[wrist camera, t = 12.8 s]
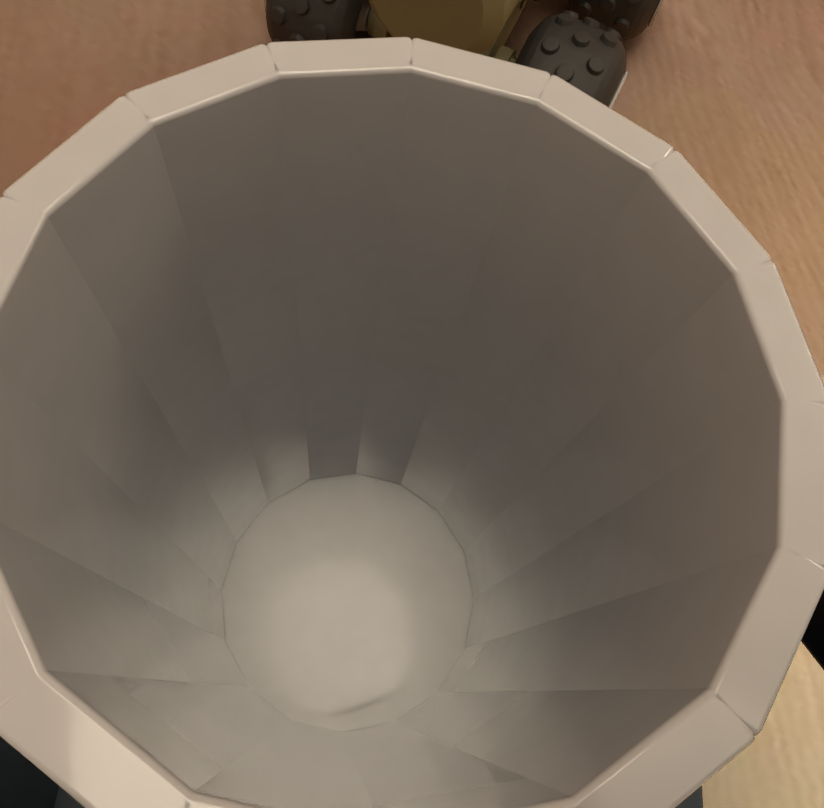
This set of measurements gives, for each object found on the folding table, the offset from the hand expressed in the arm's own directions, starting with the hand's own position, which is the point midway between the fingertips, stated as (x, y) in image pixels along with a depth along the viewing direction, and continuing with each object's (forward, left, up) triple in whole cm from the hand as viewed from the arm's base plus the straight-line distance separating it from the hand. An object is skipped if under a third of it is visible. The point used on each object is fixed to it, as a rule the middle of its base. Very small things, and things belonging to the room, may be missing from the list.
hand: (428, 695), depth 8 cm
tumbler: (+2, +1, -9) cm, 10 cm away
